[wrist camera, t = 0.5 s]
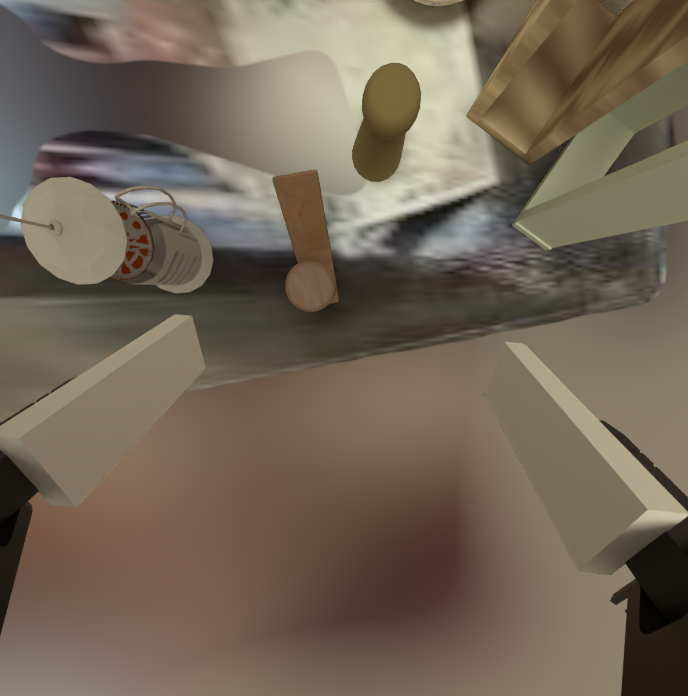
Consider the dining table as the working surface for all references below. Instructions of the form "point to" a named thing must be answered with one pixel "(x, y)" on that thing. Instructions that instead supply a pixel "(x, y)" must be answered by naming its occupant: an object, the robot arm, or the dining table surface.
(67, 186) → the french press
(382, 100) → the cork
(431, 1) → the paper bowls
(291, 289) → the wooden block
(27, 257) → the dining table surface
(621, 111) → the pale green rectangular frame
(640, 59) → the birch stand
